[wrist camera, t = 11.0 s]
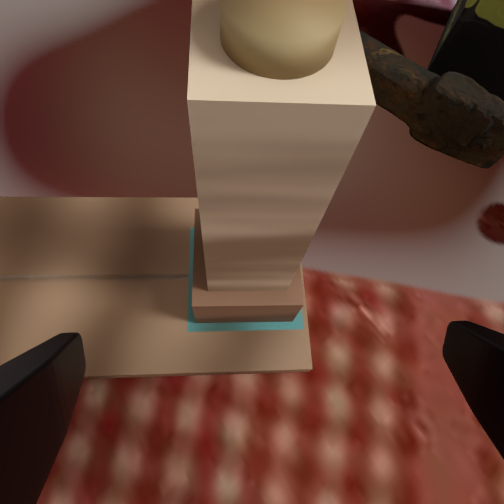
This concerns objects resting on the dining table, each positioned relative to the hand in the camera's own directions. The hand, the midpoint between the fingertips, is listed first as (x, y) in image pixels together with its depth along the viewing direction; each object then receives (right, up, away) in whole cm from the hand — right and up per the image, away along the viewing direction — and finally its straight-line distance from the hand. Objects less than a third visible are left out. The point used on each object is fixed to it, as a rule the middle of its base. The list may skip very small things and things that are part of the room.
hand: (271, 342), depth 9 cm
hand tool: (+9, +14, +20) cm, 26 cm away
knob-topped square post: (-1, +1, +11) cm, 11 cm away
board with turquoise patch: (-8, 0, +12) cm, 14 cm away
